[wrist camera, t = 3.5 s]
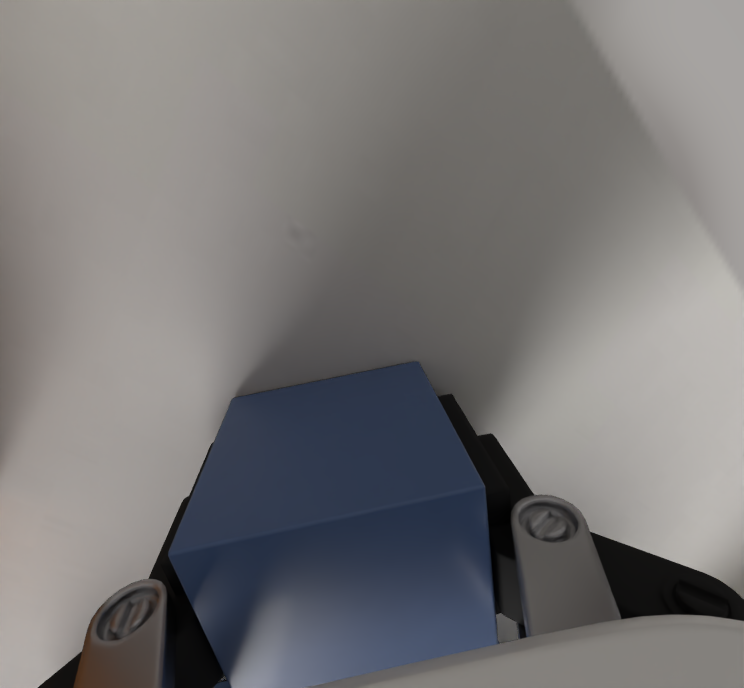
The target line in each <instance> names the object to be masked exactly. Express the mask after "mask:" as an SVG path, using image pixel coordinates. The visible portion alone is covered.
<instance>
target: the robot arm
mask: <svg viewBox="0 0 744 688" xmlns="http://www.w3.org/2000/svg"><path fill="white" fill-rule="evenodd" d="M438 399H439V401H440V403H441V405H442V406H443V408H444V410H445V412H446V414H447V416H448V418H449V420H450V421H451V423H452V425H453V427H454V429H455V431H456V433H457V435H458V436H459V438H460V440H461V442H462V444H463V446H464V448H465V450H466V451H467V453H468V455H469V457H470V459H471V461H472V463H473V465H474V466H475V468H476V470H477V472H478V474H479V476H480V478H481V480H482V481H483V483H484V485H485V491H486V503H487V514H488V526H489V538H490V550H491V562H492V574H493V586H494V598H495V610H496V614H499V613H502V614H503V615H505V616H507V617H508V618H510V619H512V620H514V621H516V622H517V630H518V638H519V639H518V640H514V641H509V642H505V643H500V644H496V645H491V646H487V647H482V648H478V649H474V650H469V651H465V652H460V653H456V654H451V655H447V656H442V657H438V658H433V659H429V660H424V661H420V662H415V663H411V664H406V665H402V666H398V667H393V668H389V669H385V670H380V671H376V672H372V673H367V674H363V675H358V676H354V677H350V678H345V679H341V680H337V681H332V682H328V683H324V684H319V685H315V686H311V687H306V688H744V600H743V599H742V598H741V597H740V596H739V595H738V594H737V593H736V592H735V591H734V590H733V589H732V588H730V587H729V586H727V585H726V584H724V583H723V582H721V581H720V580H718V579H716V578H714V577H712V576H709V575H707V574H705V573H703V572H700V571H697V570H694V569H692V568H689V567H686V566H683V565H681V564H678V563H675V562H672V561H669V560H667V559H664V558H661V557H658V556H656V555H653V554H650V553H647V552H645V551H642V550H639V549H636V548H633V547H631V546H628V545H625V544H622V543H620V542H617V541H614V540H611V539H609V538H606V537H603V536H600V535H597V534H595V533H592V532H590V531H589V528H588V525H587V523H586V520H585V518H584V517H583V515H582V513H581V512H580V511H579V510H578V509H577V508H576V507H575V506H574V505H573V504H571V503H569V502H567V501H565V500H564V499H561V498H558V497H555V496H550V495H534V494H533V493H532V491H531V490H530V488H529V487H528V485H527V484H526V482H525V481H524V479H523V478H522V476H521V475H520V473H519V472H518V470H517V469H516V467H515V466H514V464H513V463H512V461H511V460H510V458H509V457H508V456H507V454H506V453H505V451H504V450H503V448H502V447H501V445H500V444H499V442H498V441H497V439H496V438H495V436H494V435H493V434H491V433H490V434H485V435H480V436H477V435H476V433H475V431H474V430H473V428H472V426H471V425H470V423H469V421H468V420H467V418H466V416H465V415H464V413H463V411H462V410H461V408H460V407H459V405H458V403H457V402H456V400H455V398H454V397H453V395H452V394H448V395H443V396H438ZM212 446H213V443H212V444H211V446H210V448H209V450H208V453H207V455H206V458H205V460H204V462H203V465H202V467H201V469H200V472H199V474H198V476H197V479H196V481H195V484H194V486H193V488H192V491H191V493H190V495H189V496H188V497H186V498H185V499H184V500H183V502H182V503H181V506H180V508H179V510H178V512H177V515H176V517H175V519H174V522H173V524H172V526H171V528H170V531H169V533H168V535H167V538H166V540H165V542H164V544H163V547H162V549H161V551H160V554H159V556H158V558H157V560H156V563H155V565H154V567H153V570H152V572H151V574H150V576H149V579H143V580H140V581H137V582H134V583H131V584H129V585H127V586H126V587H124V588H122V589H120V590H119V591H117V592H116V593H115V594H113V595H112V596H111V597H109V598H108V599H107V600H106V602H105V603H104V604H103V605H102V606H101V607H100V608H99V609H98V610H97V612H96V613H95V615H94V616H93V618H92V619H91V622H90V624H89V627H88V629H87V633H86V637H85V641H84V646H83V650H82V652H81V653H79V654H78V655H77V656H76V657H75V658H73V659H72V660H71V661H70V662H68V663H67V664H66V665H65V666H64V667H62V668H61V669H60V670H59V671H57V672H56V673H55V674H54V675H53V676H51V677H50V678H49V679H48V680H46V681H45V682H44V683H43V684H42V685H40V686H39V687H38V688H215V687H214V686H215V685H216V684H217V683H218V682H219V681H220V680H221V679H222V677H223V676H225V675H224V673H223V671H222V668H221V666H220V664H219V662H218V660H217V658H216V656H215V654H214V652H213V649H212V647H211V645H210V643H209V641H208V639H207V637H206V635H205V633H204V630H203V628H202V626H201V624H200V622H199V620H198V618H197V616H196V614H195V612H194V609H193V607H192V605H191V603H190V601H189V599H188V597H187V595H186V593H185V590H184V588H183V586H182V584H181V582H180V580H179V578H178V576H177V574H176V571H175V569H174V567H173V565H172V563H171V561H170V559H169V557H168V552H169V549H170V547H171V544H172V542H173V540H174V537H175V535H176V532H177V530H178V528H179V525H180V523H181V520H182V518H183V516H184V513H185V511H186V508H187V506H188V503H189V501H190V499H191V496H192V494H193V491H194V489H195V487H196V484H197V482H198V479H199V477H200V475H201V472H202V470H203V467H204V465H205V463H206V460H207V458H208V455H209V453H210V451H211V448H212Z"/></svg>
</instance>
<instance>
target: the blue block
mask: <svg viewBox="0 0 744 688" xmlns="http://www.w3.org/2000/svg"><path fill="white" fill-rule="evenodd" d="M168 557H169V559H170V561H171V563H172V565H173V567H174V569H175V571H176V574H177V576H178V578H179V580H180V582H181V584H182V586H183V588H184V590H185V593H186V595H187V597H188V599H189V601H190V603H191V605H192V607H193V609H194V612H195V614H196V616H197V618H198V620H199V622H200V624H201V626H202V628H203V630H204V633H205V635H206V637H207V639H208V641H209V643H210V645H211V647H212V649H213V652H214V654H215V656H216V658H217V660H218V662H219V664H220V666H221V668H222V671H223V673H224V675H225V677H226V679H227V681H228V683H229V685H230V687H231V688H306V687H311V686H315V685H319V684H324V683H328V682H332V681H337V680H341V679H345V678H350V677H354V676H358V675H363V674H367V673H372V672H376V671H380V670H385V669H389V668H393V667H398V666H402V665H406V664H411V663H415V662H420V661H424V660H429V659H433V658H438V657H442V656H447V655H451V654H456V653H460V652H465V651H469V650H474V649H478V648H482V647H487V646H491V645H496V644H498V634H497V622H496V610H495V598H494V586H493V574H492V562H491V550H490V538H489V526H488V514H487V503H486V491H485V485H484V483H483V481H482V480H481V478H480V476H479V474H478V472H477V470H476V468H475V466H474V465H473V463H472V461H471V459H470V457H469V455H468V453H467V451H466V450H465V448H464V446H463V444H462V442H461V440H460V438H459V436H458V435H457V433H456V431H455V429H454V427H453V425H452V423H451V421H450V420H449V418H448V416H447V414H446V412H445V410H444V408H443V406H442V405H441V403H440V401H439V399H438V397H437V395H436V393H435V391H434V390H433V388H432V386H431V384H430V382H429V380H428V378H427V376H426V375H425V373H424V371H423V369H422V367H421V365H420V363H419V362H418V361H416V362H411V363H406V364H401V365H396V366H391V367H386V368H381V369H376V370H371V371H366V372H361V373H356V374H351V375H346V376H341V377H336V378H331V379H326V380H321V381H316V382H311V383H306V384H301V385H296V386H291V387H286V388H281V389H276V390H271V391H266V392H261V393H256V394H251V395H246V396H241V397H236V398H233V399H232V400H231V402H230V405H229V407H228V410H227V412H226V415H225V417H224V419H223V422H222V424H221V427H220V429H219V431H218V434H217V436H216V439H215V441H214V443H213V446H212V448H211V451H210V453H209V455H208V458H207V460H206V463H205V465H204V467H203V470H202V472H201V475H200V477H199V479H198V482H197V484H196V487H195V489H194V491H193V494H192V496H191V499H190V501H189V503H188V506H187V508H186V511H185V513H184V516H183V518H182V520H181V523H180V525H179V528H178V530H177V532H176V535H175V537H174V540H173V542H172V544H171V547H170V549H169V552H168Z"/></svg>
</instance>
